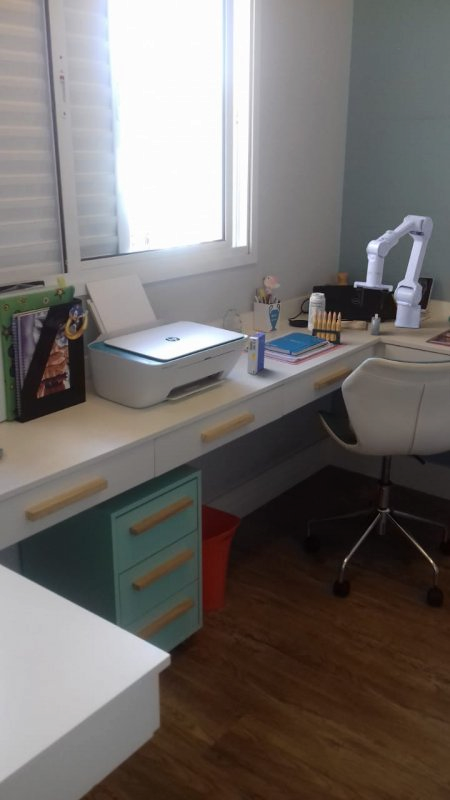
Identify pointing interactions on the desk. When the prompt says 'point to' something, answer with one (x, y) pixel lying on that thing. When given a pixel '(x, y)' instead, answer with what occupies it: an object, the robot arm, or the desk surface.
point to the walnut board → (353, 325)
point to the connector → (375, 325)
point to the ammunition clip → (329, 331)
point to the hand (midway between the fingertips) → (370, 307)
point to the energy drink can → (316, 308)
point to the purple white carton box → (256, 353)
